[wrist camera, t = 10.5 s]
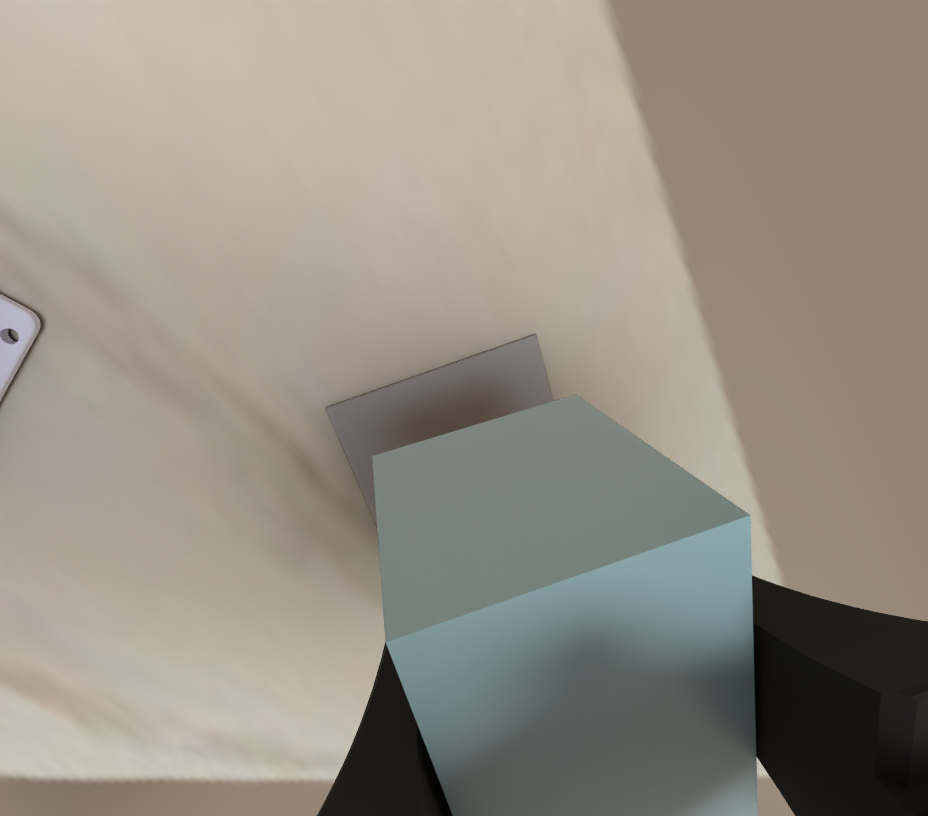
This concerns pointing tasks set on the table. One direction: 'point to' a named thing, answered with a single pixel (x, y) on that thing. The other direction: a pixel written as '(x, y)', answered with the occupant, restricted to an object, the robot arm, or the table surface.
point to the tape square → (438, 404)
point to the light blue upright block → (569, 619)
